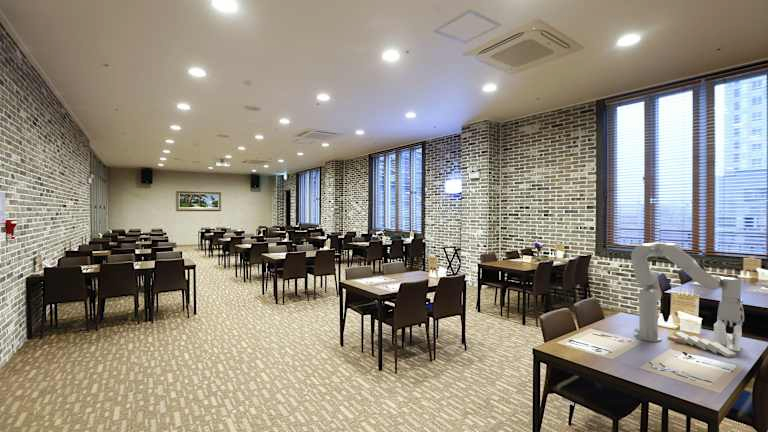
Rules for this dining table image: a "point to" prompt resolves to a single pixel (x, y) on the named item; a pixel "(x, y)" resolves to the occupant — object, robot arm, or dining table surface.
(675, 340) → the domino
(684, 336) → the domino
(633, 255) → the robot arm
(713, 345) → the domino
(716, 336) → the jar
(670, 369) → the dining table surface
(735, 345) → the beer glass
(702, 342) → the domino
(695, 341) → the domino
